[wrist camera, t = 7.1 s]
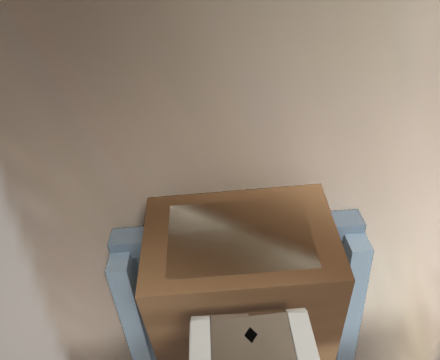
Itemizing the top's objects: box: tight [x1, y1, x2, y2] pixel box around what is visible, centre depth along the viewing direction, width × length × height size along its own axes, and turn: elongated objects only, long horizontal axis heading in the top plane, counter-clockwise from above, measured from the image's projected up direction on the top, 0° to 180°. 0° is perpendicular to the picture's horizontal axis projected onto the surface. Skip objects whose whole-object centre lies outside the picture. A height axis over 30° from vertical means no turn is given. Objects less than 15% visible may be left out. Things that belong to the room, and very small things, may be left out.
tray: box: [105, 209, 374, 360], centre depth 20 cm, size 13×10×2 cm
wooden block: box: [135, 184, 355, 360], centre depth 15 cm, size 4×6×8 cm
